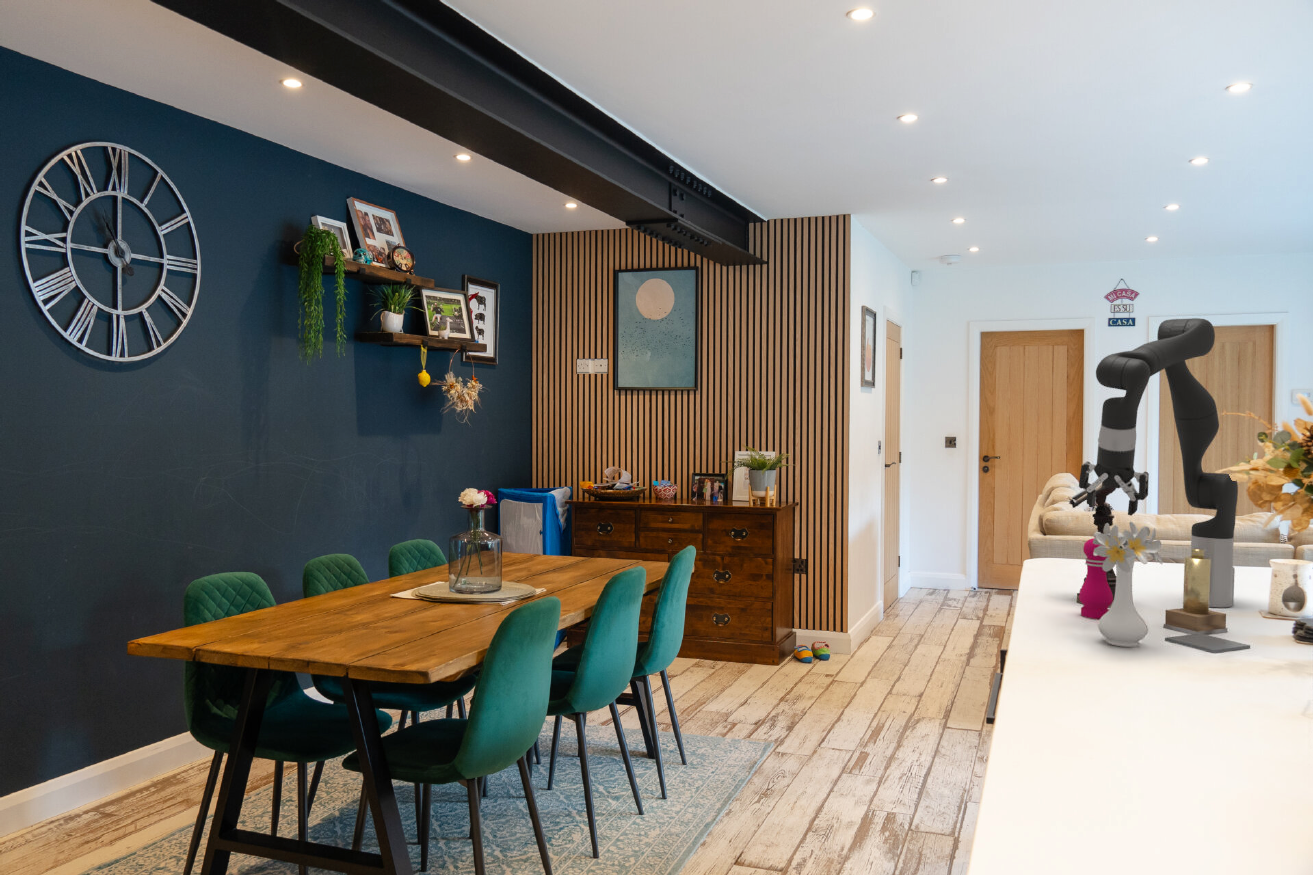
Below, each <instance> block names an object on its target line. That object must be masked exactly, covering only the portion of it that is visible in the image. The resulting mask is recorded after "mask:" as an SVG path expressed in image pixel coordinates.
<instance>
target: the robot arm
mask: <svg viewBox="0 0 1313 875" xmlns="http://www.w3.org/2000/svg"><path fill="white" fill-rule="evenodd" d="M1215 336H1216V332H1215V328H1214V326H1213V324H1212V322H1211V321H1209V320H1207V319H1205V318H1198V317H1197V318H1196V317H1195V318H1194V317H1192V318H1173V319H1166V320H1163V321H1162V322H1161V323H1160V324H1159V325H1158V328H1157V337H1156V338H1157V340H1153V341H1150V342H1149V341H1148V342H1147V343H1144V344H1142V345H1140V346H1138V347H1136V348H1134V349H1132V350H1126V351H1121V352H1120V351H1119V352H1116V353H1111V354H1108V355H1107V356H1105V357H1103V358H1102V359H1101V360H1100V362H1099V363H1098V364H1097V366H1096V370H1095V377H1096V380H1097V382H1098V383H1099V384H1100V385H1101V386H1103V387H1106V388H1108V389H1115V390H1121V391H1125V395H1124V396H1116V397H1115V396H1114V397H1109V398H1107V399H1105V400H1104V401H1103V403H1102V410H1101V411H1102V412H1101V420H1100V421H1101V422H1100V423H1101V424H1100V427H1099V432H1098V438H1097V443H1098V444H1097V445H1098V446H1097V453H1096V454H1097V456H1096V457H1097V458H1096V464H1093V463H1091V462H1090V461H1085V462H1084V463H1083V464H1082V465H1081V468H1080V473H1079V482H1078V488H1080V489H1083V490H1084V489H1085V490H1086V491H1087V500H1086V505H1088V508H1091V509H1092V508H1094V507H1095V506H1096V490H1095V488H1096V487H1097V486H1099V485H1100V484H1101V483H1103V484H1104V485H1105V486H1112V487H1115V488H1116V489H1122V491H1123V493H1125V494H1126V495H1127V496H1128V498H1129V500H1128V510H1127V515H1128V516H1133V515H1134V514H1135V513H1136V512H1137V511H1138V506H1139V501H1140V500H1141V501H1144V500H1145V499H1146V498H1147V497H1148V496H1149V479H1150V477H1149V476H1150V474H1149V473H1148V472H1147V471H1143V472H1136V471H1135V469H1134V465H1135V464H1134V462H1135V454H1136V453H1135V452H1136V446H1137V445H1136V444H1137V420H1138V418H1137V417H1138V410H1139V406H1140V403H1141V401H1142V397H1143V394H1144V392H1145V391H1146V388H1147V386H1148V383H1149V380H1150V378H1151V377H1152V376H1154V375H1156V374H1157V373H1159V372H1161V371H1163V370H1164V371H1165V375H1166V379H1167V383H1168V388H1169V392H1170V397H1171V403H1172V411H1173V416H1174V418H1173V419H1174V423H1175V428H1176V432H1177V437H1178V441H1179V446H1180V452H1181V461H1182V470H1183V482H1184V483H1183V484H1184V492H1185V497H1186V500H1187V503H1188V504H1189V505H1190V507H1191V508H1192V507H1193V508H1194V509H1195V508H1196V509H1203V510H1216V513H1215V515H1214V517H1212V518H1210V519H1208V520H1204V521H1201V522H1195V523H1194V524H1192V525H1191V530H1190V531H1191V532H1190V533H1191V536H1190V541H1191V542H1190V555H1191V554H1192V549H1193V548H1196V549H1204V558H1209V559H1211V563H1210V592H1209V608H1231V607H1232V606H1234V603H1235V602H1234V600H1235V599H1234V598H1235V597H1234V596H1235V572H1236V571H1235V567H1234V566H1233V565H1234V541H1235V540H1234V538H1235V527H1236V516H1237V514H1236V513H1237V504H1238V495H1239V494H1238V493H1239V485H1238V482H1237V480H1236V481H1232V480H1231V478H1230V476H1229V474H1230V473H1219V472H1204V471H1203V468H1202V461H1203V457H1204V455H1205V453H1206V451H1207V450H1208V449H1209V446H1210V445H1211V444H1212V442H1214V439H1215V437H1216V436H1217V434H1218V431H1219V428H1220V422H1219V420H1220V419H1219V416H1218V409H1217V403H1216V401H1215V399H1214V397H1213V396H1212V395H1211V393H1209V391H1208V390H1207V388H1205V387H1204V386H1203V385H1202V383H1201V382H1200V381H1198V380H1197V378H1196V377H1195V376H1194V375H1193V374H1192V372H1191V371H1190V369H1189V367H1188V365H1187V362H1186V361H1188V360H1190V359H1194V358H1199V357H1203V356H1205V355H1207V354H1209V353H1210V352H1211V351H1212V349H1213V348H1214V345H1215V338H1216V337H1215ZM1092 472H1094V473H1095V475H1096V476H1097V478H1096V480H1095V481H1094V482H1092V483H1090V482H1089V478H1090V474H1091V473H1092ZM1133 478H1135V479H1136V482H1137V483H1138V490H1137V489H1136V486H1135V484H1134V483H1133V481H1132V480H1133Z"/></svg>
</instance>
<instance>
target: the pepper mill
mask: <svg viewBox="0 0 1313 875" xmlns="http://www.w3.org/2000/svg"><path fill="white" fill-rule="evenodd" d="M1097 534H1100V532H1098V531H1096V532H1094V533H1093V538H1089V539H1088V540H1086V541H1085V543H1084V544H1083V548H1082V550H1083V553H1084V555H1085V556H1086V558H1085V562H1084V563H1085V565H1086V567H1087V568H1086V570H1087V571H1086V575H1087V577H1086V576H1085V577H1086V580H1085V582H1084V581H1083V583H1084V584H1082V585H1083V586H1082V585H1081V588H1080V589H1081V590H1080V589H1079V593H1080V594H1079V599H1080V601H1081V602H1082V605H1083V606H1082V607H1080V615H1081V617H1083V618H1089V619H1095V620H1100V618H1101V617H1102V616H1103V615H1104V614H1105V613H1107V612H1108V611H1109V609H1110V608H1108V607H1109V606H1110V605H1111V604H1112V602H1113V595H1112V592H1111V589H1110V587H1109V585H1108V582H1107V578H1106V571H1104V570H1103V568H1102V565H1103V563H1104V561H1105V559H1106V558H1107V557H1102V556H1099V555H1098V556H1094V555H1093V553H1094V549H1095V548H1097V547H1099V546H1100V545H1097V544H1093V540H1094V539H1095V538H1096V535H1097Z"/></svg>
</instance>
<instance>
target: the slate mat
mask: <svg viewBox="0 0 1313 875" xmlns="http://www.w3.org/2000/svg"><path fill="white" fill-rule="evenodd" d="M1164 641H1166V642H1170V643H1173V644H1177V645H1181V646H1184V647H1189V648H1193V649H1196V650H1200V651H1205V652H1207V653H1212V654H1218V653H1224V652H1233V651H1240V650H1247V649H1251V645H1250V644H1247V643H1242V642H1238V641H1234V640H1229V639H1225V638H1222V637H1217V636H1214V635H1210V634H1207V635H1205V634H1201V633H1199V634H1183V635H1174V636H1169V637H1168V636H1167V637H1164Z"/></svg>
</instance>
